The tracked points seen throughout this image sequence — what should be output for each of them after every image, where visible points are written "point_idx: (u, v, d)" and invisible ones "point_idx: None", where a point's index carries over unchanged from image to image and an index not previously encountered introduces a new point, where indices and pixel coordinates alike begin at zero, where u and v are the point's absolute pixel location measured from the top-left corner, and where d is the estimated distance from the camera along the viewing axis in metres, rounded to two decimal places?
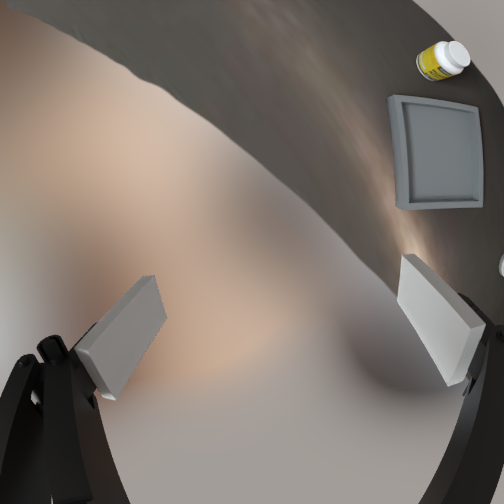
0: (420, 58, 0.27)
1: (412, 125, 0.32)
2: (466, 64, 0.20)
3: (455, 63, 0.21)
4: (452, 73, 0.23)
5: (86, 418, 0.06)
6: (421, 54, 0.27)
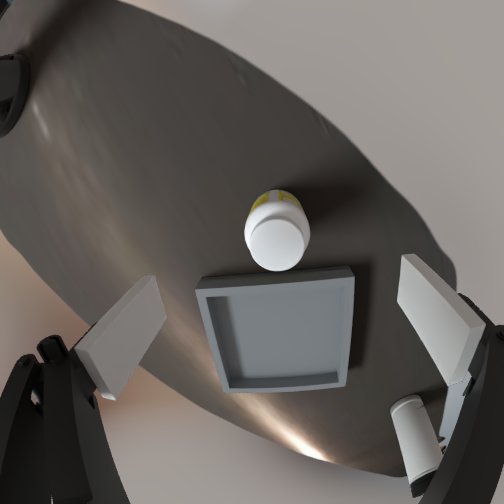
0: None
1: (235, 311, 0.32)
2: (288, 266, 0.20)
3: None
4: None
5: (86, 418, 0.06)
6: None
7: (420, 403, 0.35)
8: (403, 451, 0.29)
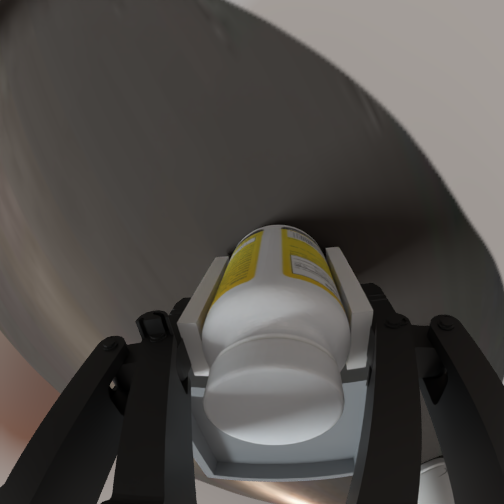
0: None
1: None
2: (299, 440, 0.07)
3: None
4: None
5: (177, 406, 0.07)
6: (228, 263, 0.14)
7: (444, 467, 0.21)
8: None
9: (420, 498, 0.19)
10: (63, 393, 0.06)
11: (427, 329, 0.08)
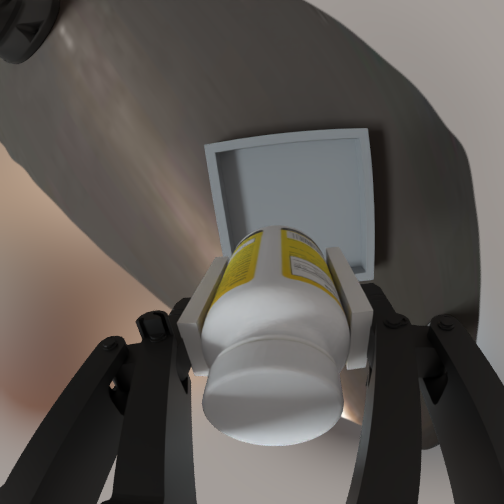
0: None
1: (245, 178, 0.29)
2: (298, 441, 0.07)
3: None
4: None
5: (177, 406, 0.07)
6: (228, 264, 0.14)
7: None
8: None
9: None
10: (63, 393, 0.06)
11: (427, 329, 0.08)
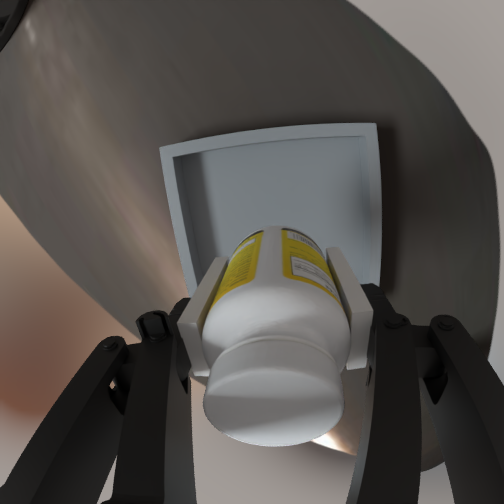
0: None
1: (213, 189, 0.23)
2: (299, 442, 0.07)
3: None
4: None
5: (177, 406, 0.07)
6: (228, 264, 0.14)
7: None
8: None
9: None
10: (63, 393, 0.06)
11: (427, 329, 0.08)
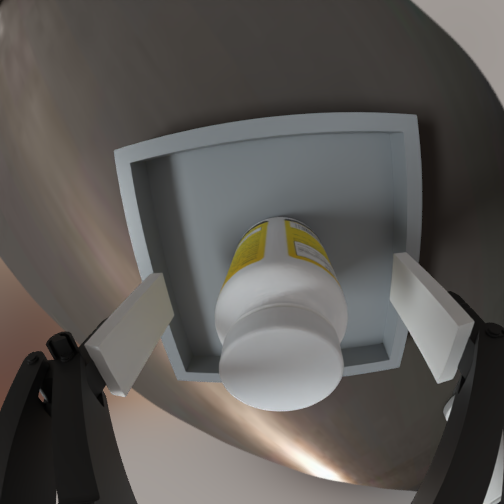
0: None
1: (189, 205, 0.16)
2: (303, 405, 0.08)
3: None
4: None
5: (95, 416, 0.06)
6: (236, 251, 0.15)
7: None
8: None
9: None
10: (3, 406, 0.05)
11: None
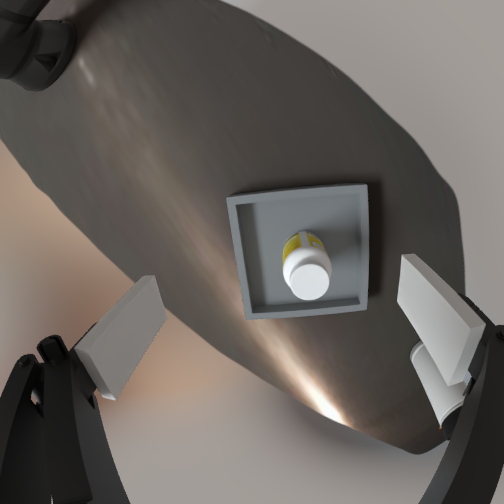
0: (283, 251, 0.34)
1: (260, 225, 0.35)
2: (317, 297, 0.27)
3: None
4: None
5: (86, 418, 0.06)
6: (285, 246, 0.34)
7: None
8: (429, 391, 0.31)
9: (424, 368, 0.34)
10: None
11: None
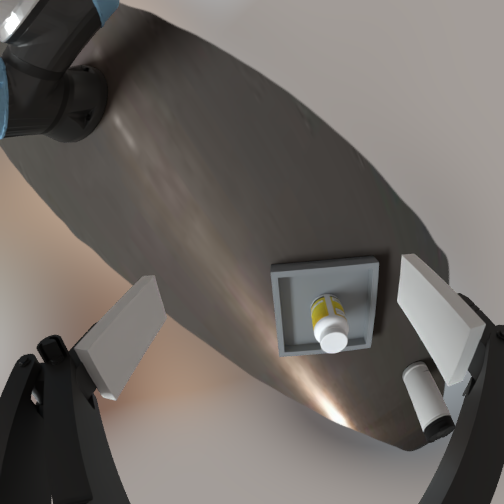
0: (311, 310, 0.43)
1: (294, 289, 0.44)
2: (338, 351, 0.36)
3: None
4: None
5: (86, 418, 0.06)
6: (313, 307, 0.43)
7: (426, 367, 0.47)
8: (415, 405, 0.41)
9: (412, 387, 0.44)
10: None
11: None
